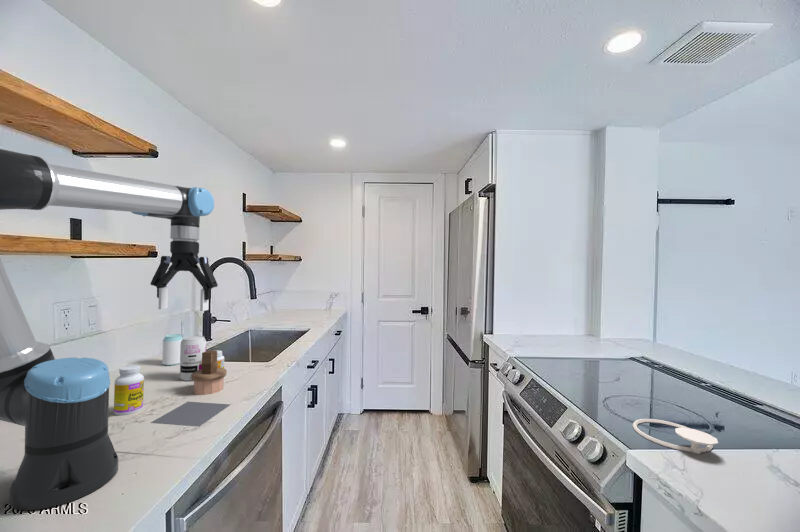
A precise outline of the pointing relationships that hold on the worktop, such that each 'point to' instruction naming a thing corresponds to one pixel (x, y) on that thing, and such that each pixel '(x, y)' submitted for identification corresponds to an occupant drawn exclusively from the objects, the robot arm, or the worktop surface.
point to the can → (171, 349)
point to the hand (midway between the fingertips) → (183, 309)
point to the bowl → (208, 386)
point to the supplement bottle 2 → (220, 359)
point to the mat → (191, 414)
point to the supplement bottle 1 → (128, 390)
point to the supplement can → (191, 356)
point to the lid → (209, 368)
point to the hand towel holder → (684, 432)
